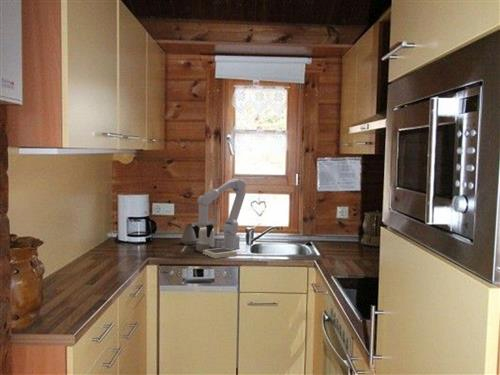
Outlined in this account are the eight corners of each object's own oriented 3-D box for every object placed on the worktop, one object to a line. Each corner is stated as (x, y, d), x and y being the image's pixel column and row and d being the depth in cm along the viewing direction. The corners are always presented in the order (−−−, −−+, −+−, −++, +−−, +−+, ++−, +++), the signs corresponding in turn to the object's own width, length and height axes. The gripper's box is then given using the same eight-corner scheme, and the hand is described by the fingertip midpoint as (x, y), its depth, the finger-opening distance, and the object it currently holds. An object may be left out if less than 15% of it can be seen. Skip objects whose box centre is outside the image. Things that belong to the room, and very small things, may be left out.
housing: (202, 249, 284) (202, 241, 283) (208, 252, 277) (209, 243, 277) (196, 250, 281) (196, 242, 281) (202, 252, 275) (202, 244, 274)
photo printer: (213, 245, 296) (214, 226, 295) (214, 247, 292) (214, 227, 291) (197, 245, 295) (198, 226, 294) (198, 247, 290) (198, 227, 290)
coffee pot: (191, 241, 308) (192, 219, 307) (201, 244, 300) (202, 221, 299) (164, 245, 294) (164, 221, 293) (174, 247, 286) (174, 224, 285)
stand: (224, 251, 278) (224, 247, 278) (236, 255, 268) (236, 251, 268) (203, 254, 270) (203, 249, 269) (214, 258, 259) (214, 253, 259)
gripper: (210, 214, 285) (209, 235, 286) (189, 215, 277) (188, 237, 277) (216, 215, 280) (215, 237, 280) (195, 216, 271) (194, 239, 272)
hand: (202, 237), depth 279 cm, fingers open, 7 cm apart
